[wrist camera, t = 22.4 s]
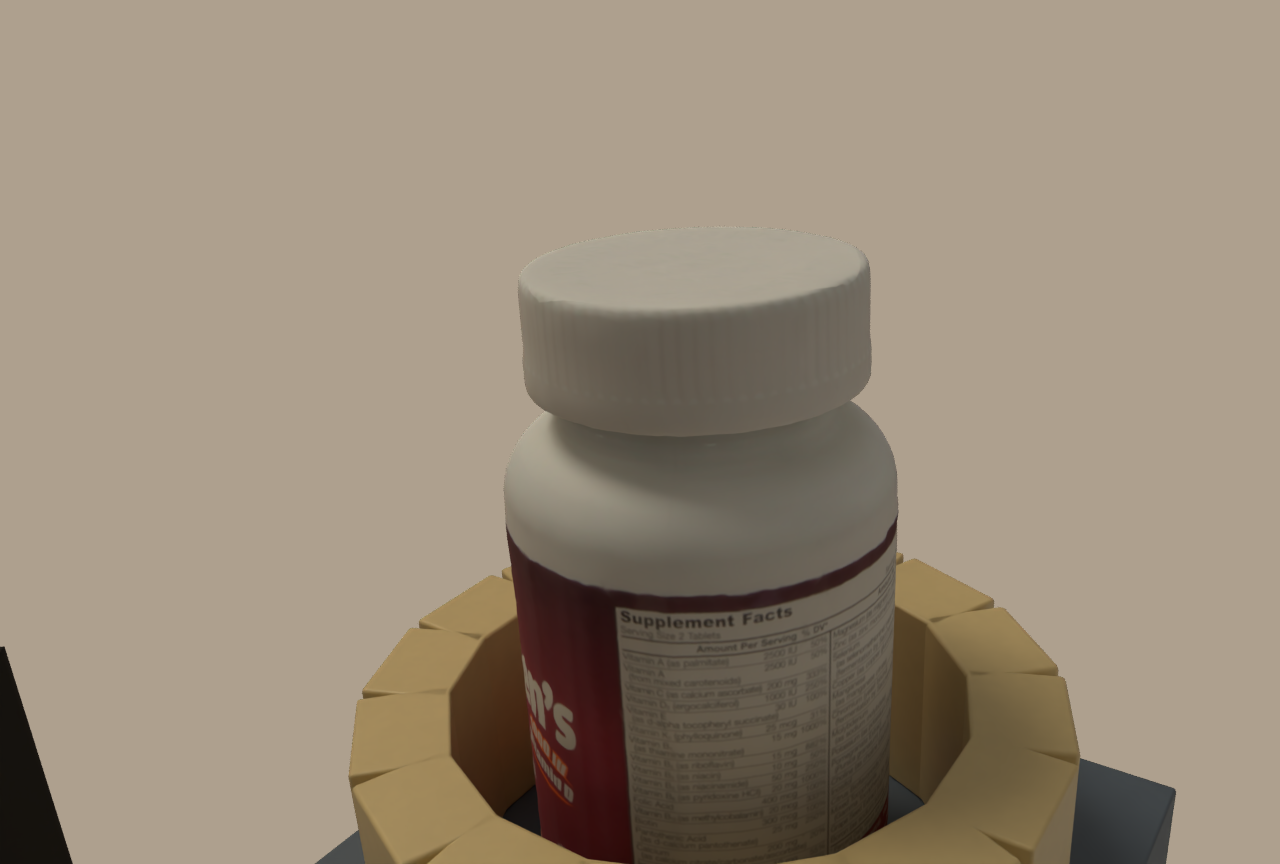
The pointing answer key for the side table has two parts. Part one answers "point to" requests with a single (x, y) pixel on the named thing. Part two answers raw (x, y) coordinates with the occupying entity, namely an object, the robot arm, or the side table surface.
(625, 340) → the pill bottle
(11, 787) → the robot arm
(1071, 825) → the grey four-legged stand
